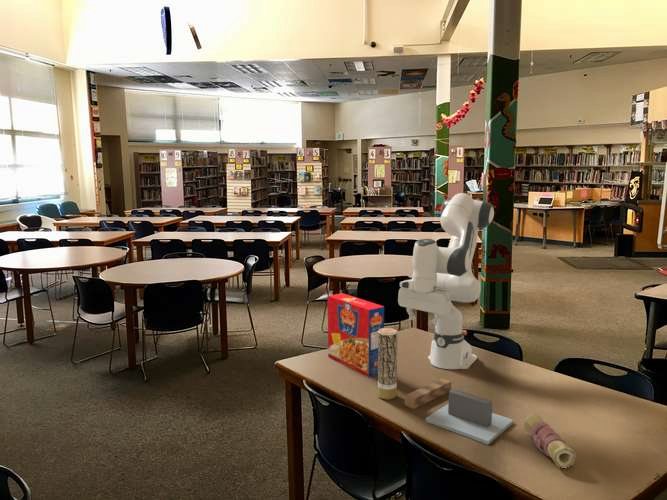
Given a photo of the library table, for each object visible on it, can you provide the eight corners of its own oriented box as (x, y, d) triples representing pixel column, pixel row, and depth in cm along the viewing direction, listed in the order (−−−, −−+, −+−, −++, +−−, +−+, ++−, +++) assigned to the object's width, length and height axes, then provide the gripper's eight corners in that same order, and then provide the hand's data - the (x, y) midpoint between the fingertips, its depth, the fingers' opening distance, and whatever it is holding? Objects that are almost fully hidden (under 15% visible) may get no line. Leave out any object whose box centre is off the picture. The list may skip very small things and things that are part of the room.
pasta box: (328, 357, 231) (327, 295, 227) (342, 353, 236) (342, 293, 231) (368, 377, 209) (368, 309, 204) (383, 372, 213) (384, 306, 209)
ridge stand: (425, 421, 172) (426, 395, 171) (453, 403, 185) (454, 378, 184) (488, 444, 158) (489, 416, 156) (513, 423, 171) (514, 396, 169)
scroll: (515, 430, 163) (544, 466, 144) (526, 409, 162) (557, 443, 143) (536, 438, 164) (568, 476, 145) (547, 418, 163) (581, 453, 144)
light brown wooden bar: (442, 388, 199) (442, 378, 198) (451, 391, 196) (451, 381, 195) (404, 406, 184) (404, 395, 183) (413, 410, 181) (413, 399, 181)
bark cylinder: (395, 401, 187) (396, 334, 183) (376, 399, 189) (377, 333, 185) (397, 393, 194) (398, 328, 190) (379, 391, 195) (379, 327, 191)
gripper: (454, 287, 182) (453, 326, 183) (406, 279, 195) (405, 315, 197) (445, 290, 177) (443, 330, 179) (396, 282, 191) (395, 318, 193)
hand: (422, 322), depth 188 cm, fingers open, 8 cm apart
